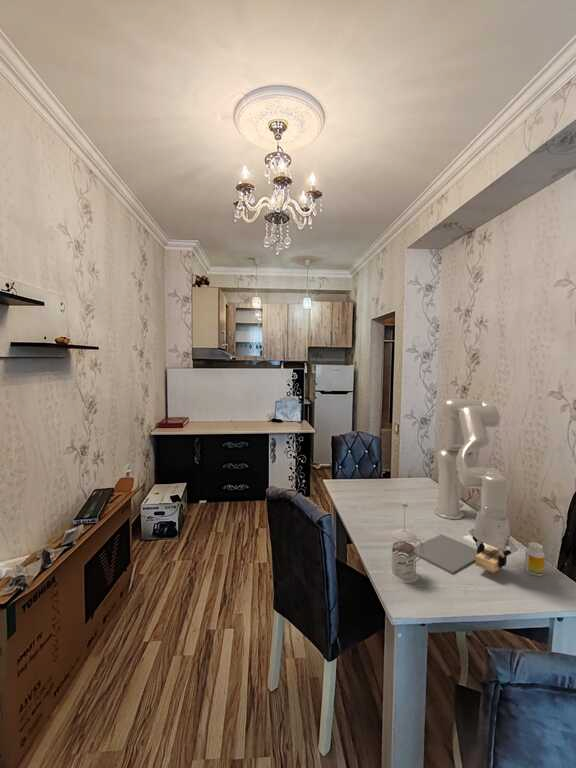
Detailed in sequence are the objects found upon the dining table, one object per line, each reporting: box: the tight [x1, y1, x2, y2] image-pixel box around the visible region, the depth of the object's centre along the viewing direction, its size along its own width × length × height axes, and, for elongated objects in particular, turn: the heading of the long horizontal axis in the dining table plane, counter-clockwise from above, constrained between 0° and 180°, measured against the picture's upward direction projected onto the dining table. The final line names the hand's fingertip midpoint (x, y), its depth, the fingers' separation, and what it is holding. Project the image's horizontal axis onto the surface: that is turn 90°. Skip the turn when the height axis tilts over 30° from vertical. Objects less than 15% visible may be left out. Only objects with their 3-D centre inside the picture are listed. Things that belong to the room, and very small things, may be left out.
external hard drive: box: [462, 534, 499, 550], centre depth 142 cm, size 2×8×12 cm
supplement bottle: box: [524, 541, 546, 577], centre depth 123 cm, size 5×5×10 cm
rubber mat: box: [414, 533, 478, 575], centre depth 135 cm, size 22×18×1 cm
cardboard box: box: [474, 546, 508, 574], centre depth 122 cm, size 10×6×3 cm, turn 128°
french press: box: [388, 501, 424, 584], centre depth 121 cm, size 10×12×25 cm
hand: (491, 561), depth 122 cm, fingers closed on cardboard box, 6 cm apart
